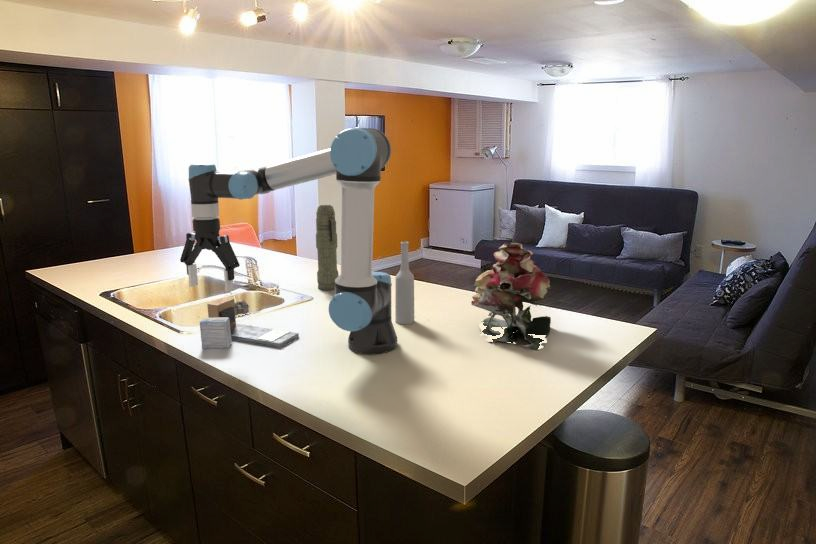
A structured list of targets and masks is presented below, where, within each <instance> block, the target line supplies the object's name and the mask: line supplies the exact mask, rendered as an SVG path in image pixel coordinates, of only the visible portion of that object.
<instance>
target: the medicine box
mask: <svg viewBox="0 0 816 544" xmlns="http://www.w3.org/2000/svg"><path fill="white" fill-rule="evenodd" d="M199 331H200V338H201V339H200V340H201V348H202V349H229V347H230V345H231V344H232V341H233V340H231V331H230V320H229V317H214V318H209V317H204V318H203V319H201V320H200V321H199Z"/></svg>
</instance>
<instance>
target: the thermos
mask: <svg viewBox="0 0 816 544" xmlns="http://www.w3.org/2000/svg"><path fill="white" fill-rule="evenodd" d="M315 215H316V219H315V222H316V224H315V226H316V229H315V230H316V233H315V246H316V250H317V269H318V270H317V272H316V274H317V275H316V279H317V281H316V282H317V288H318V290H321V291H335V279H336V278H337V277H338V276H339V275H340V274H339V271H338V259H337V257H338V256H337V249H338V233H337V221H336V213H335V209H334V206H333V205H332V204H331V205H330V204H321V205H319V206H318V207H317V209H316V213H315Z"/></svg>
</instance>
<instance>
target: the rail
mask: <svg viewBox="0 0 816 544" xmlns="http://www.w3.org/2000/svg"><path fill="white" fill-rule="evenodd" d="M234 303H235V298H230V297H222V298H219V299H217V300H214V301H211V302H209V303H206V304H207V316H208V317H207V318H214V317H229V320H230V331H231V341H236V342H242V343H248V344H254V345H259V346H265V347H266V346H267V347H272V348H278V349H281V348H283V347H285V346H287V345H289V344H290V343H292V342H294V341H295V340H297V339H299V337H300V336H299V332H293V331H286V330H281V329H273V328H268V327H267V328H266V327H262V326H261V327H260V326H254V325H247V324H242V323H241V324H240V323H237V320H236V315H235V305H234Z"/></svg>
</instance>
